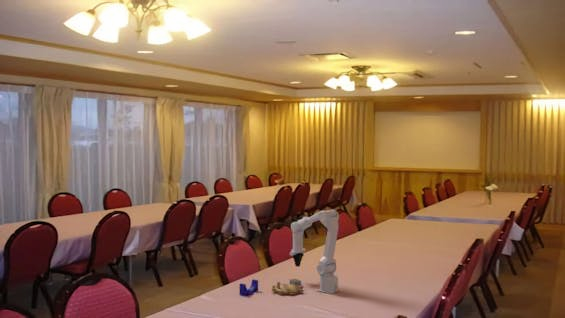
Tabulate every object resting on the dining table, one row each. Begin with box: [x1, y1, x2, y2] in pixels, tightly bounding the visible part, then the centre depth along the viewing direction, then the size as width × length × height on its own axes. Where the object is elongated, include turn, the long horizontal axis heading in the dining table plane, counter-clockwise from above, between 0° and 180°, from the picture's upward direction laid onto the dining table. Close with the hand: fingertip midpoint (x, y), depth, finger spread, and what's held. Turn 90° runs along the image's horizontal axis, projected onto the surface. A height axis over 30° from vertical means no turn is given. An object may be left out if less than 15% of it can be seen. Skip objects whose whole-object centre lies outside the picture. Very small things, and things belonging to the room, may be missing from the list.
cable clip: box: [239, 279, 259, 297], centre depth 297 cm, size 12×4×6 cm, turn 145°
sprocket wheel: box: [271, 281, 304, 296], centre depth 301 cm, size 17×17×5 cm
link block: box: [289, 278, 302, 286], centre depth 311 cm, size 6×4×4 cm, turn 28°
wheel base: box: [275, 292, 299, 296], centre depth 301 cm, size 13×13×1 cm
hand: (297, 266), depth 319 cm, fingers closed
